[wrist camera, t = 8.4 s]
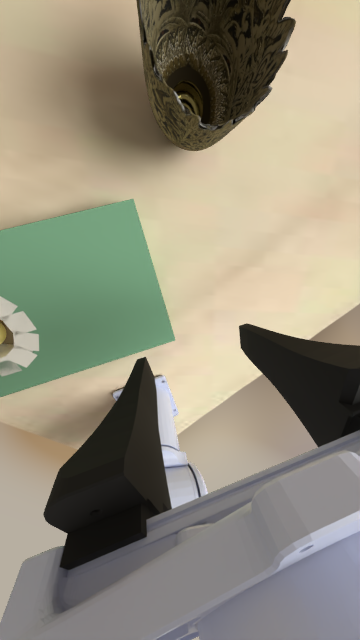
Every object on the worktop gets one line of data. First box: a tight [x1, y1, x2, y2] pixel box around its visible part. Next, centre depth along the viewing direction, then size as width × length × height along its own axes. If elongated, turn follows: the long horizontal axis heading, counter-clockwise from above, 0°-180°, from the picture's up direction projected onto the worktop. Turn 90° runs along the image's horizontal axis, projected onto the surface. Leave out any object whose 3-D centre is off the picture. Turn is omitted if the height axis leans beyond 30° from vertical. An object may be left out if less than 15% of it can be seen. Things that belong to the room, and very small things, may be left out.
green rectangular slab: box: [0, 199, 175, 397], centre depth 17 cm, size 14×22×3 cm, turn 104°
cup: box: [137, 0, 296, 151], centre depth 11 cm, size 8×7×8 cm
